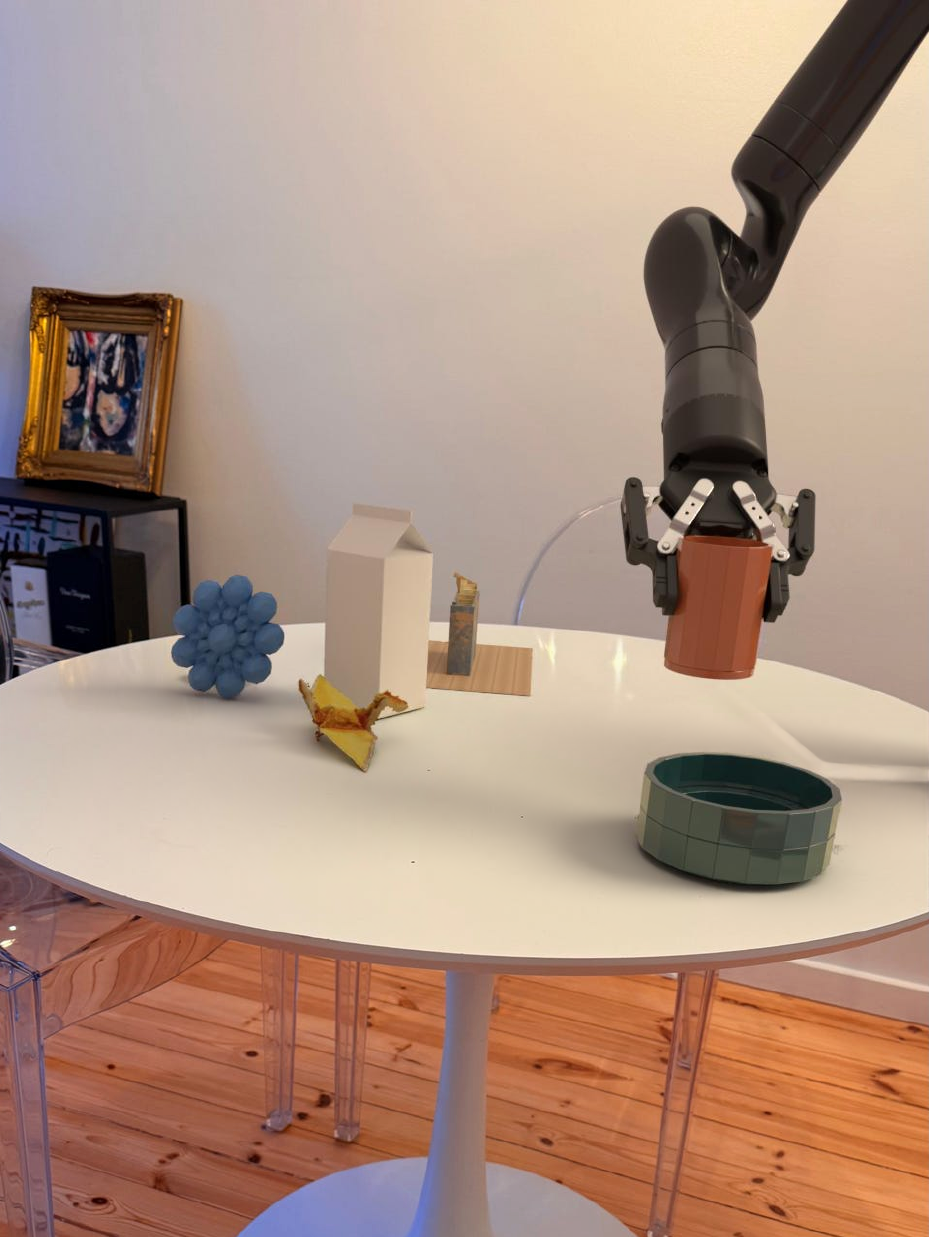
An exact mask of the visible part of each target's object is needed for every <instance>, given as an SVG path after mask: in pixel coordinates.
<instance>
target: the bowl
mask: <svg viewBox="0 0 929 1237" xmlns="http://www.w3.org/2000/svg"><path fill="white" fill-rule="evenodd" d="M842 801H843V797H842V793H841V789H840V788H839V787H838V786H837V785H836V784H835V783H833V782H832V781H831V780H829V778H826V777H824V776H822V775H821V774H818V773H816V772H814V771H811V770H809V769H807V768H805V767H804V768H803V767H800V766H797V765H795V764H791V763H788V762H784V761H780V760H775V759H771V758H765V757H760V756H756V755H755V756H754V755H747V754H740V753H732V752H715V751H696V752H695V751H694V752H681V753H680V752H679V753H674V754H667V755H663V756H660V757H657V758H655V759H653V760H652V761H650V762H648V763H647V764H646V766H645V768H644V772H643V780H642V788H641V796H640V802H639V810H638V819H637V825H636V826H637V828H636V836H635V838H636V840H637V841H638V843H639V845H640V847H641V848H642V849H643V850H644V851H645V852H647V853H648V854H649V855H651V856H652V857H654V858H655V859H656V860H657V861H660V862H662V863H664V864H667V865H669V866H671V867H674V868H675V869H678V870H679V871H683V872H685V873H688V874H691V875H693V876H698V877H700V878H705V879H708V880H712V881H717V882H722V883H729V884H737V885H748V886H749V885H750V886H769V885H770V886H771V885H782V884H791V883H800V882H804V881H808V880H810V879H813V878H817V877H819V876H821V875H822V874H823V873H824V871H826V870H827V868H828V867H829V866H830V863H831V859H832V853H833V847H834V842H835V839H836V838H835V837H836V832H837V827H838V823H839V817H840V810H841V806H842Z"/></svg>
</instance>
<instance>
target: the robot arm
mask: <svg viewBox="0 0 929 1237" xmlns="http://www.w3.org/2000/svg"><path fill="white" fill-rule="evenodd" d="M928 35H929V0H846V2H844V4H843V6H842V7H841V8H840V10H839V11H838V13H837V14H836V15H835V16H834V18H833V20H832V21H831V22H830V24H829V25H828V27H826V29H825V31H824V32H823V33H822V35H821V36H820V38H818V40H817V41H816V43H815V45H814V46H813V47H812V48H811V50H810V51H809V52H808V54H807V55H806V56H805V58H803V61H802V62H801V64H800V65H799V66H798V67H797V69H796V70H795V72H794V73H793V75H792V76H791V77H790V79H789V80H788V81H787V83H786V84H785V85H784V87H783V88H782V90H781V91H780V92H779V94H778V95H777V97H776V98H775V100H774V101H773V102H772V103H771V105H770V106H769V108H768V110H767V111H766V112H765V113H764V115H763V116H762V118H761V119H760V121H759V122H758V124H757V125H756V127H755V128H754V129H753V131H752V132H751V133H750V136H749V137H748V138H747V140H746V141H745V142H744V144H743V145H742V147H741V148H740V150H739V151H738V153H737V154H736V156H735V158H734V160H733V161H732V164H731V168H730V177H731V179H732V182H733V185H734V188H736V190H737V192H738V194H739V196H740V198H741V199H742V202H743V204H744V208H745V218H744V222H743V226H742V229H741V231H740V234H739V235H738V233H736V232H735V231H734V230H733V229H732V228H731V227H730V226H728V224H727V223H726V222H725V221H724V220H723V219H722V218H720V217H719V216H718V215H717V214H716V213H714V212H713V211H712V210H709V209H708V208H705V207H701V206H685V207H682V208H679V209H677V210H674V211H673V212H672V213H670V214H669V215H667V216H666V217H665V218H664V219H663V220H662V221H661V222H660V224H659V225H658V226H657V227H656V228H655V230H654V232H653V233H652V236H651V238H650V240H649V242H648V245H647V247H646V251H645V255H644V261H643V274H642V275H643V276H642V277H643V284H644V292H645V295H646V299H647V302H648V306H649V310H650V312H651V316H652V318H653V322H654V324H655V329H656V331H657V334H658V337H659V338H660V341H661V343H662V346H663V350H664V394H663V401H662V418H661V422H660V423H661V424H660V427H661V428H660V431H661V434H662V455H663V456H662V457H663V460H662V461H663V462H662V463H663V480H662V482H661V483H660V484H659V485H643V482H642V480H641V479H640V478H639V477H635V476H631V477H629V478H627V479H626V480H625V483H624V486H623V491H622V496H621V501H620V506H619V508H620V515H621V516H620V517H621V524H622V532H623V533H622V534H623V541H624V543H623V544H624V551H625V552H624V553H625V559H626V562H627V563H628V564H629V565H630V566H635V567H636V566H639V565H644V566H646V567H648V568H649V569H650V570H651V573H652V602H653V605H654V607H655V608H659V609H660V608H661V615H662V616H666V617H669V616H673V614H674V611H675V608H676V605H677V600H678V579H677V556H676V553H677V545H678V538H679V537H681V536H687V535H707V536H725V537H737V538H745V539H752V540H758V541H763V542H768V543H771V544H773V545H774V549H773V556H772V562H771V569H770V575H769V582H768V589H767V595H766V602H765V608H764V615H763V623H768V624H769V623H771V624H772V623H773V624H774V623H776V621H777V619H778V617H779V616H780V617H782V616H783V613H784V612H785V610H786V608H787V605H788V603H789V601H790V585H789V584H790V583H789V575H791V576H793V577H800V576H802V575H804V573H805V571H806V569H807V565H808V563H809V561H810V559H811V558H812V557H813V554H814V553H815V549H816V548H815V545H816V544H815V543H816V541H815V540H816V499H817V498H816V497H817V496H816V493H815V491H814V490H812V489H810V488H802V489H801V490H799V492H798V494H797V495H792V494H784V493H777V490H776V488H775V487H774V486H773V485H772V482H771V480H770V477H769V457H768V446H767V445H768V444H767V428H766V414H765V401H764V400H765V399H764V394H763V388H762V385H761V381H760V376H759V365H758V348H757V338H756V333H755V329H754V326H753V323H752V321H753V320H754V319H755V318H756V317H757V315H758V314H760V312H761V310H762V309H763V307H764V306H765V304H766V302H767V301H768V299H769V297H770V296H771V293H772V291H773V289H774V287H775V284H776V283H777V279H778V278H779V275H780V272H781V271H782V269H783V266H784V264H785V261H786V259H787V257H788V254H789V252H790V250H791V248H792V247H793V243H794V242H795V239H796V238H797V235H798V233H799V231H800V229H801V227H802V224H803V221H804V219H805V217H806V215H807V213H808V211H809V209H810V208H811V206H812V205H813V204H814V202H815V201H816V199H817V198H818V197H819V195H820V194H821V193H822V191H823V190H824V189H825V187H826V186H827V185H828V183H829V182H830V180H831V179H833V176H834V175H835V174H836V172H837V171H838V170H839V168H840V167H841V166H842V164H843V163H844V162H845V160H847V158H848V156H849V155H850V153H851V152H852V151H853V149H854V148H855V147H856V145H857V143H858V142H859V141H860V139H861V138H862V136H863V135H864V134H865V132H866V130H867V129H868V128H869V126H870V125H871V123H872V122H873V120H874V119H875V117H876V116H877V114H878V112H879V111H880V110H881V108H882V106H883V105H884V103H885V101H886V100H887V98H888V97H889V95H890V94H891V92H892V90H893V89H894V87H895V86H896V84H897V82H898V80H899V79H900V77H901V76H902V75H903V72H904V71H905V70H906V68H907V66H908V65H909V63H910V61H911V60H912V59H913V57H914V55H915V54H916V52H917V51H918V50H919V48H920V46H921V44H922V43H923V42H924V40H925V39H926V38H927V36H928ZM655 505H657V506H658V507H659V509H660V510H661V511H662V512H663V513H664V515H666V517H667V518H668V519H669V520H670V524H669V526H668V528H667V529H666V531H665V532H664V533H663V535H662V536H661V538H660V539H659V541H658V540H655V539H652V538H650V537H649V528H648V519H647V517H648V516H650V514H651V512H652V508H653V507H654V506H655ZM772 512H773V513H776V514H778V516H779V518H780V522H781V523H782V527H783V528H784V529H788V540H787V542H788V543H787V547H786V546H785V544H784V543H783V542H782V540H781V539H780V537H779V536H778V534H777V532H776V526H775V523H774V522H773V520H772V519H771V517H770V515H771V514H772Z"/></svg>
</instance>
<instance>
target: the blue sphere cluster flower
mask: <svg viewBox="0 0 929 1237" xmlns="http://www.w3.org/2000/svg"><path fill="white" fill-rule="evenodd" d="M253 592H254V586H253V583H252V581H251V579H250V578H249V577H247V576H245V575H241V574H235V575H232V576H230V577H229V578H228V579H227V580H226V581H225V583H224V584H223V585H222V586H221V584H220V583H219V582H218V581H215V580H210V579H206V580H204V581H200V583H199V584H198V585H197V586H196V587H195V589H194V590H193V593H192V603H193V605H191V604H185V605H182V606H180V607H179V608H178V610H177V611H176V612H175V613H174V614H173V617H172V618H173V619H172V625H173V629H174V632H176V633H177V634H178V635H179V636H182V637H179V638H178V639H177V640H176V641H175V643H174V644H173V645H172V647H171V651H170V655H171V659H172V662H173V663H174V664H175V665H176V666H177V667H180V668H186V669H188V668H190V667H191V668H190V669H189V670H188V674H187V682H188V684H189V686H190V688H191V689H193V690H194V691H195V692H201V693H205V692H208V691H210V690H211V689H212V688H214V687H215V690H216V692H217V694H218V695H220V697H222V698H226V699H233V698H236V697H238V696H239V695H241V693H242V692H243V690H244V689H245V688H246V682H247V683H249V684H254V685H259V684H261V683H263V682H264V683H265V681H266V680H267V679H268V678H269V676H270V675H271V674H272V669H273V663H272V661H271V658H270V657H269V656H270V655H273V654H276V653H277V652H278V651H280V649H281V648H282V647H283V645H284V642H285V632H284V629H283V627H281V625H280V624H278V623H274V622H270V621H271V620H272V619H274V617H275V616H276V615H277V610H278V601H277V599H276V598H275V596H274V595H273V594H272V593H270V592H266V591H259V592H255V593H254V594H253Z"/></svg>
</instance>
